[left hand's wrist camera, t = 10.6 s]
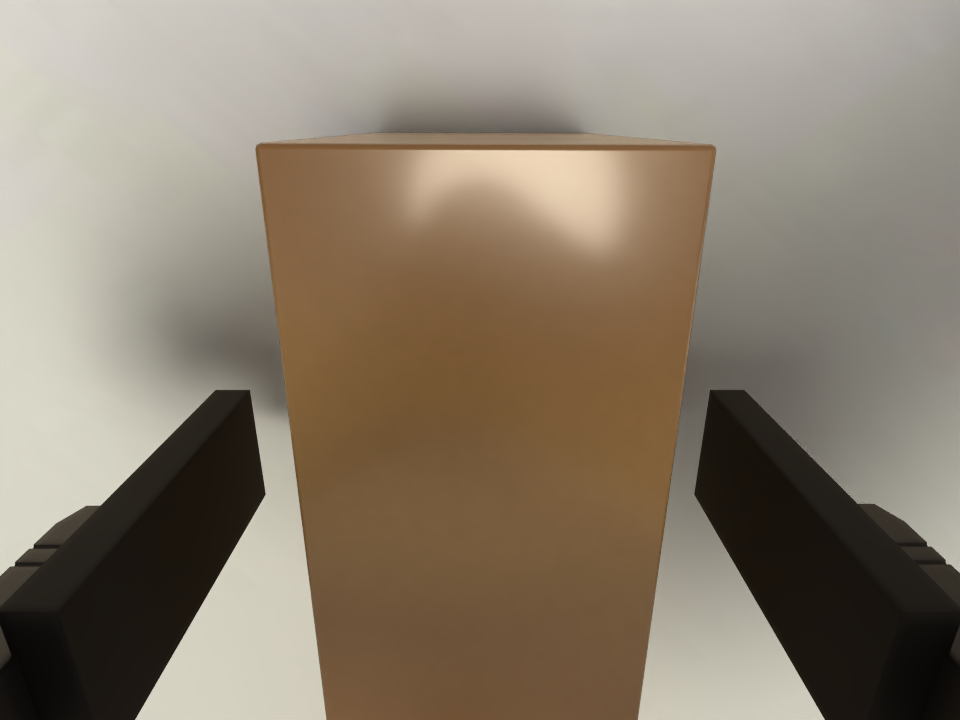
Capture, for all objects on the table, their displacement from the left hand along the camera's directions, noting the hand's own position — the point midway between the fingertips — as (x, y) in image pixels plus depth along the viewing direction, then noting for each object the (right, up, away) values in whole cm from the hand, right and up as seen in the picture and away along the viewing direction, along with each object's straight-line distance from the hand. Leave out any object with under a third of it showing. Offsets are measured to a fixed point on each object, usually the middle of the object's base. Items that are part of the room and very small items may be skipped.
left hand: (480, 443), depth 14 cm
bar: (0, -27, +14) cm, 30 cm away
